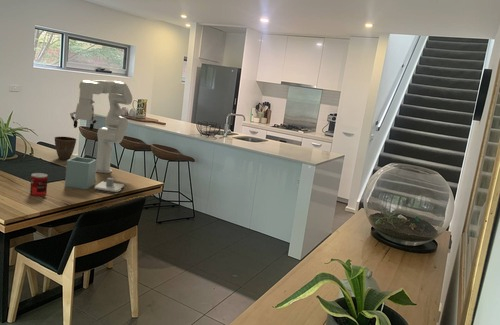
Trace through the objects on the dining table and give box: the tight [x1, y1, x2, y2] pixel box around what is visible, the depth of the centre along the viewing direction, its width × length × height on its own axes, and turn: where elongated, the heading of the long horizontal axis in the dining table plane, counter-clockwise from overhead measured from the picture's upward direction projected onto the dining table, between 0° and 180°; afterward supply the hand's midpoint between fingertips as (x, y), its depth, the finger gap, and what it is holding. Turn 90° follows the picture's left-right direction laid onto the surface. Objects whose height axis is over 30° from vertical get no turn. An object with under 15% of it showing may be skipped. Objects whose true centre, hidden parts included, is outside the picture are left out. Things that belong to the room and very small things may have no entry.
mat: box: [93, 189, 123, 195], centre depth 238 cm, size 14×14×1 cm
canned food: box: [29, 172, 49, 197], centre depth 208 cm, size 8×8×11 cm
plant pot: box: [54, 136, 77, 161], centre depth 290 cm, size 15×15×16 cm
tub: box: [64, 156, 97, 190], centre depth 235 cm, size 13×13×16 cm
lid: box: [94, 177, 125, 192], centre depth 237 cm, size 14×14×6 cm
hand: (83, 128), depth 241 cm, fingers open, 9 cm apart
